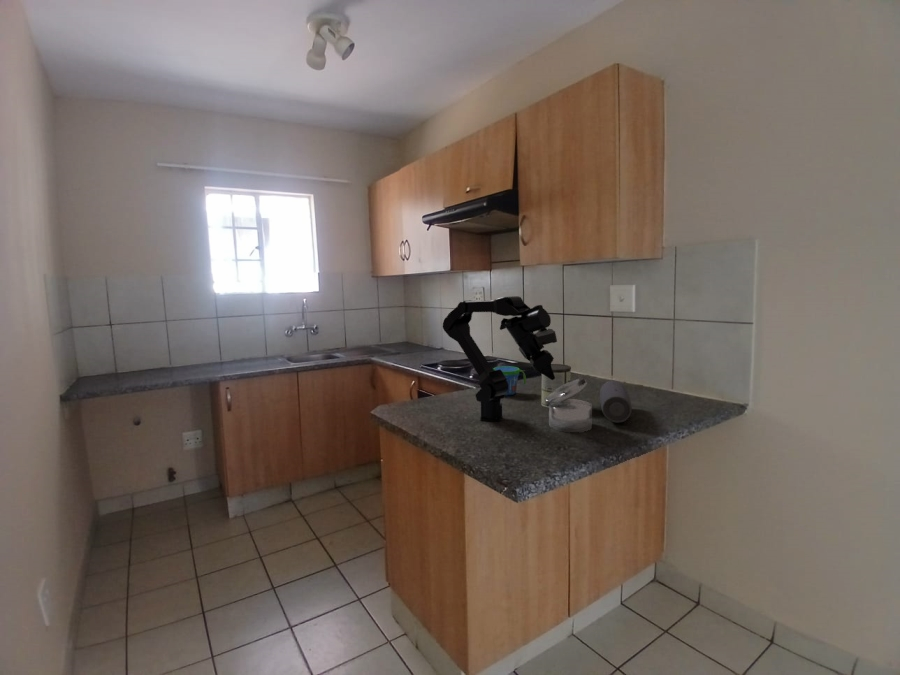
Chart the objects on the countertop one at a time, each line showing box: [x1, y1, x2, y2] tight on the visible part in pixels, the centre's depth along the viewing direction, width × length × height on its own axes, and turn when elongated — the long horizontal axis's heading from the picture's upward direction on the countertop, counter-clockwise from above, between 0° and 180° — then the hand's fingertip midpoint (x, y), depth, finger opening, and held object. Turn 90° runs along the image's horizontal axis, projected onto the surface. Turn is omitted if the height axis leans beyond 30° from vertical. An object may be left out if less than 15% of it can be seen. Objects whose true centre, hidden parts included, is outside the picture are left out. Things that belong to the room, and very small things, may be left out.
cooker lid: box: [545, 373, 588, 405], centre depth 134 cm, size 14×13×2 cm
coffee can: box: [540, 363, 572, 409], centre depth 157 cm, size 10×10×14 cm
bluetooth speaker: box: [599, 380, 633, 424], centre depth 144 cm, size 23×9×10 cm, turn 163°
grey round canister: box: [548, 398, 593, 433], centre depth 135 cm, size 13×13×7 cm
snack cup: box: [492, 365, 527, 396], centre depth 175 cm, size 16×11×10 cm
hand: (549, 374), depth 137 cm, fingers open, 9 cm apart
